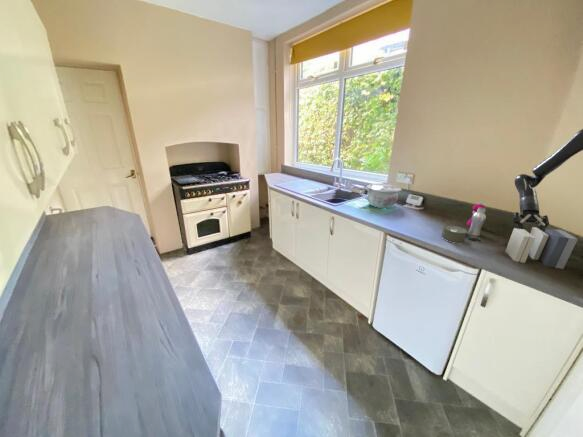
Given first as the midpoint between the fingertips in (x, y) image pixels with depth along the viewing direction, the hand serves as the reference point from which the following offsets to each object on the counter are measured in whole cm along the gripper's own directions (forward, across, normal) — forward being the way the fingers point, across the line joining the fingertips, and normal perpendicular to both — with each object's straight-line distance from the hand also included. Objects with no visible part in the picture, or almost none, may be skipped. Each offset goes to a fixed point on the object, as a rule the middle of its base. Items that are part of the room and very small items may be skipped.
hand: (531, 231), depth 127 cm
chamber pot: (-28, -78, +44) cm, 94 cm away
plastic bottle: (+5, -24, +11) cm, 27 cm away
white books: (+16, -9, -1) cm, 19 cm away
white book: (+12, 0, +4) cm, 13 cm away
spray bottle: (-6, -20, +22) cm, 30 cm away
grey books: (+16, +5, -1) cm, 17 cm away
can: (+8, -35, +8) cm, 36 cm away
